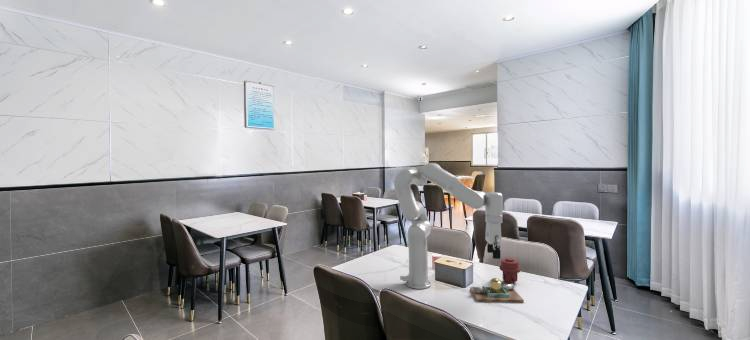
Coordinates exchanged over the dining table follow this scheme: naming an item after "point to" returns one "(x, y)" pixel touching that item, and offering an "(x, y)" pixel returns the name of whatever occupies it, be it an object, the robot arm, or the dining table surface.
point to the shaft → (508, 287)
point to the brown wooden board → (495, 295)
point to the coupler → (495, 285)
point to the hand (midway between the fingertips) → (493, 255)
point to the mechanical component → (510, 270)
